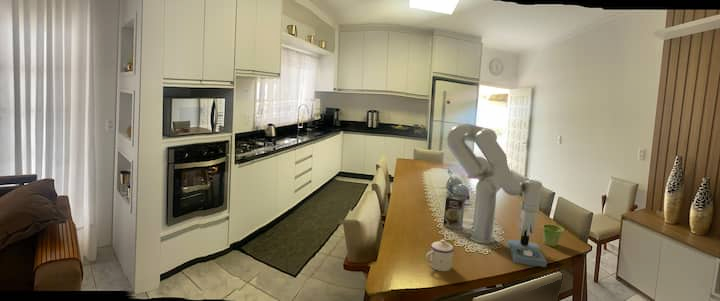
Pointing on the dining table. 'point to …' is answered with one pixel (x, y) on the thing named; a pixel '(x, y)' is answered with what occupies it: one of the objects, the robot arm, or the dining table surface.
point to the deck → (518, 257)
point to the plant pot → (551, 234)
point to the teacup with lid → (440, 256)
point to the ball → (527, 253)
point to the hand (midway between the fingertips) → (524, 244)
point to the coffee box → (454, 212)
